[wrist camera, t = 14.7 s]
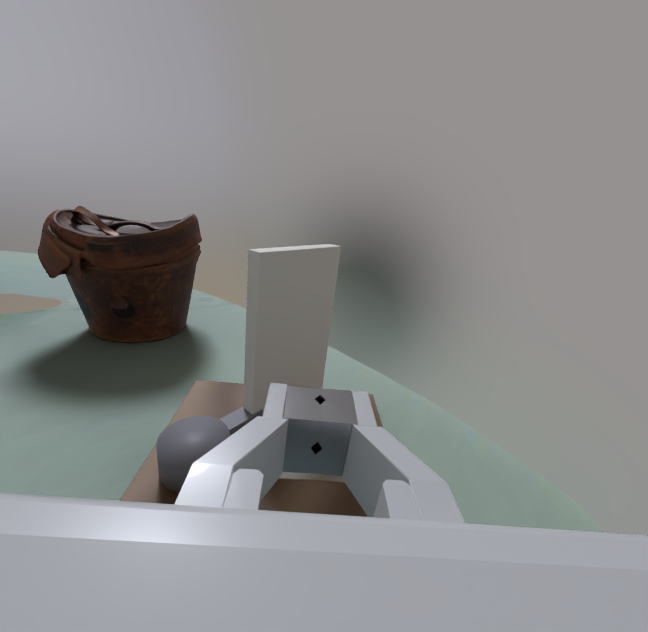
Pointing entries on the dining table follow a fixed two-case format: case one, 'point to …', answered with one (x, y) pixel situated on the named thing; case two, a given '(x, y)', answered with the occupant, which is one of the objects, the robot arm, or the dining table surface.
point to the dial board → (286, 492)
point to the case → (124, 271)
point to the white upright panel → (265, 347)
